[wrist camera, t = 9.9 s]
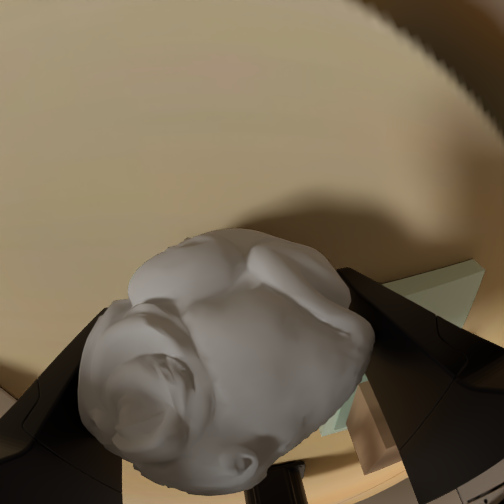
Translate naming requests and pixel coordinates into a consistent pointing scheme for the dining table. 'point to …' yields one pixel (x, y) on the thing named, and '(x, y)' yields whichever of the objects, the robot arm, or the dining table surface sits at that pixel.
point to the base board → (433, 299)
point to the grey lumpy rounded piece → (221, 360)
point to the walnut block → (370, 431)
